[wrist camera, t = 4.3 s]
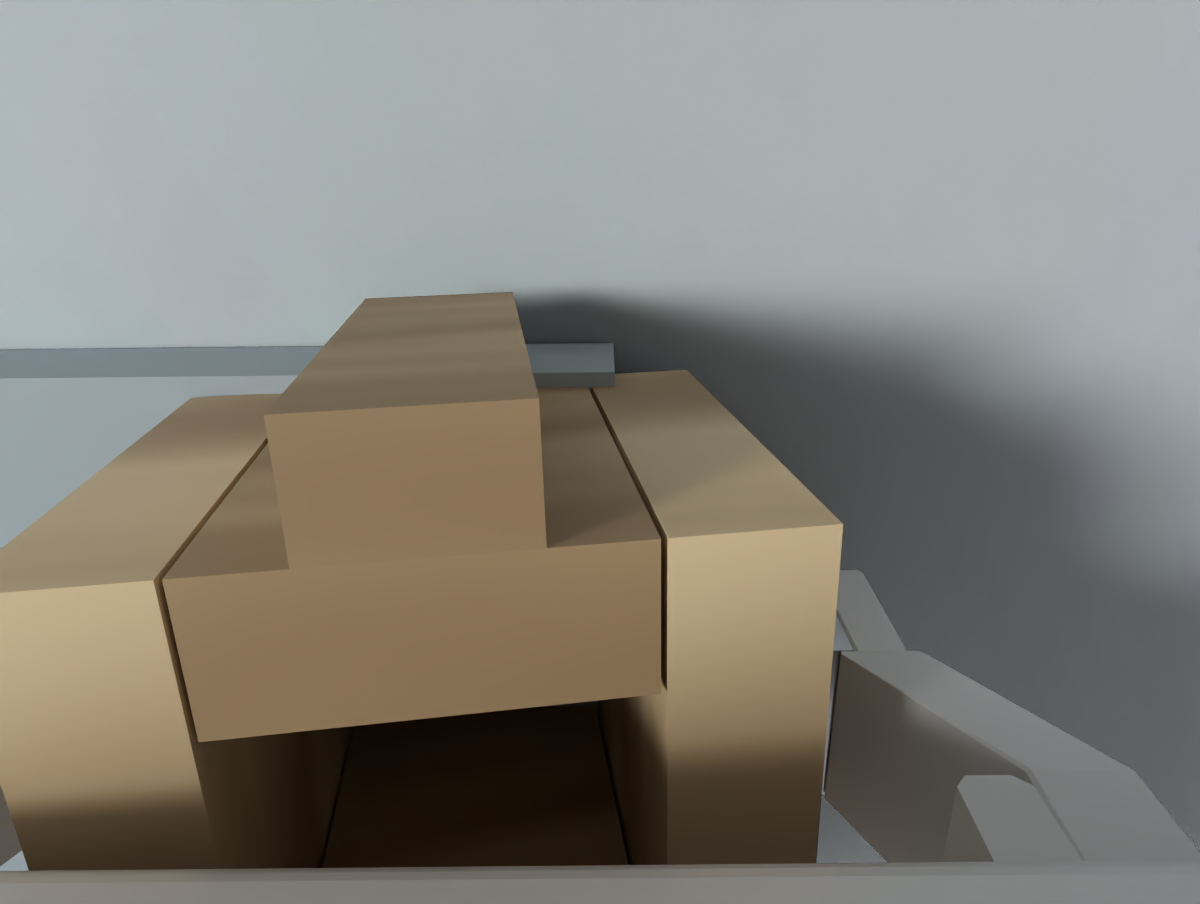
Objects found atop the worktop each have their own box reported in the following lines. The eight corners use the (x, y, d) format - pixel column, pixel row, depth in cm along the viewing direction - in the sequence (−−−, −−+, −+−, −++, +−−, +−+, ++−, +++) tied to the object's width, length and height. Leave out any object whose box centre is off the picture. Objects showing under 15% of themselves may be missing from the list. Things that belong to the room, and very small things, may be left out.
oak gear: (173, 307, 9) (-116, 437, 5) (688, 284, 9) (854, 379, 5) (282, 862, 11) (162, 1278, 7) (681, 813, 12) (790, 1166, 8)
